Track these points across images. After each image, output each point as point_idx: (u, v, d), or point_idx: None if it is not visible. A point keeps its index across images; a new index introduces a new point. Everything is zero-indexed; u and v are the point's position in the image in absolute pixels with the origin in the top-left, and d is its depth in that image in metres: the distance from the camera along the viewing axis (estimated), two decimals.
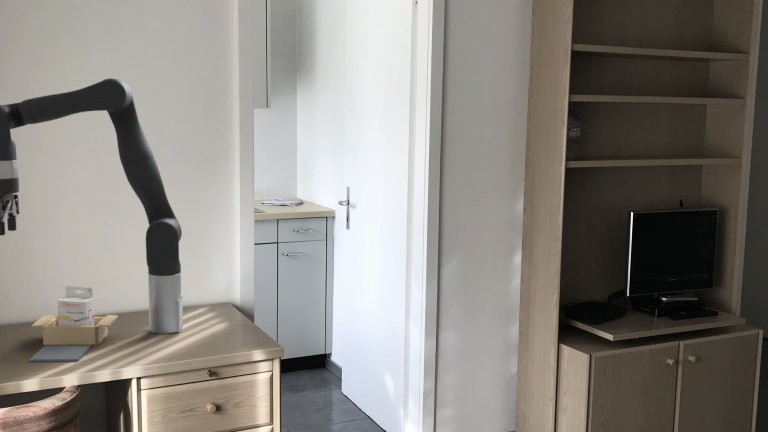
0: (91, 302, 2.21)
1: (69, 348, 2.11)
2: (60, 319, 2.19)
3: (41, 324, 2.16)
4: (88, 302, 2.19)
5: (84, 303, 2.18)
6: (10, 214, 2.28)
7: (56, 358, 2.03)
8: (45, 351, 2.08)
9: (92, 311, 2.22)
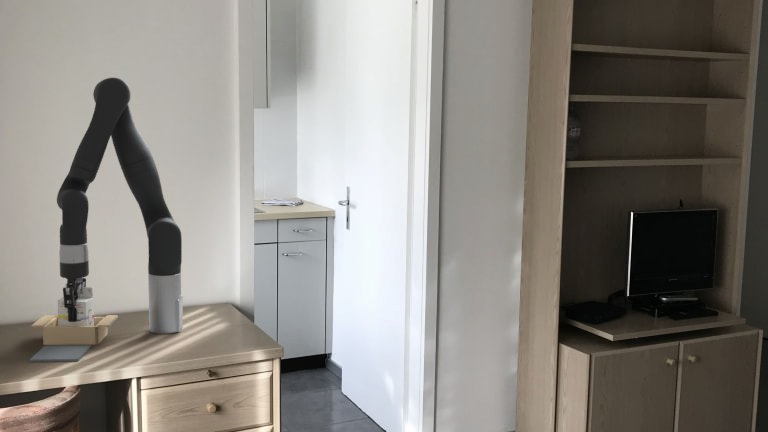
0: (91, 302, 2.21)
1: (69, 348, 2.11)
2: (60, 318, 2.19)
3: (41, 324, 2.16)
4: (88, 302, 2.19)
5: (84, 303, 2.18)
6: None
7: (56, 358, 2.03)
8: (45, 351, 2.08)
9: (92, 311, 2.22)
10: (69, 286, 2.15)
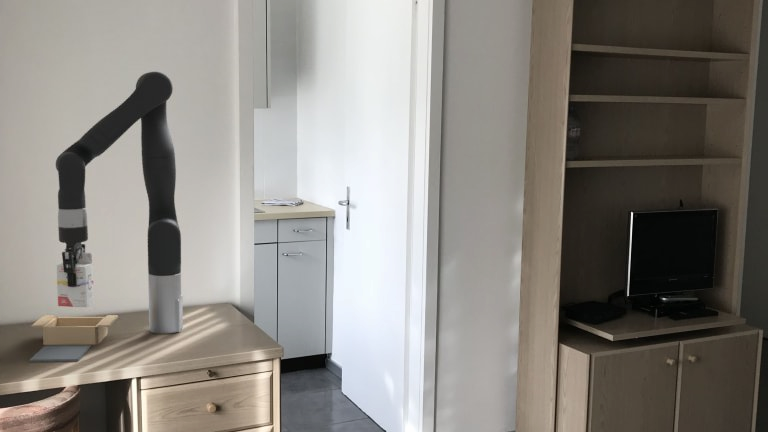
0: (90, 267, 2.20)
1: (69, 348, 2.11)
2: (60, 284, 2.18)
3: (41, 324, 2.16)
4: (87, 267, 2.18)
5: (83, 268, 2.17)
6: None
7: (56, 358, 2.03)
8: (45, 351, 2.08)
9: (91, 276, 2.21)
10: (68, 250, 2.14)
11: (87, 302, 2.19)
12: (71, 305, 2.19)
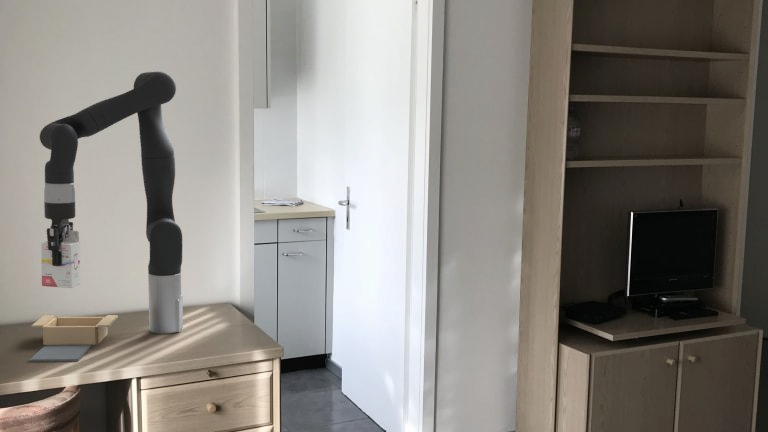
0: (77, 246, 2.08)
1: (69, 348, 2.11)
2: (44, 263, 2.07)
3: (41, 324, 2.16)
4: (74, 246, 2.07)
5: (69, 246, 2.05)
6: None
7: (56, 358, 2.03)
8: (45, 351, 2.08)
9: (78, 256, 2.09)
10: (53, 227, 2.02)
11: (72, 283, 2.07)
12: (56, 285, 2.07)
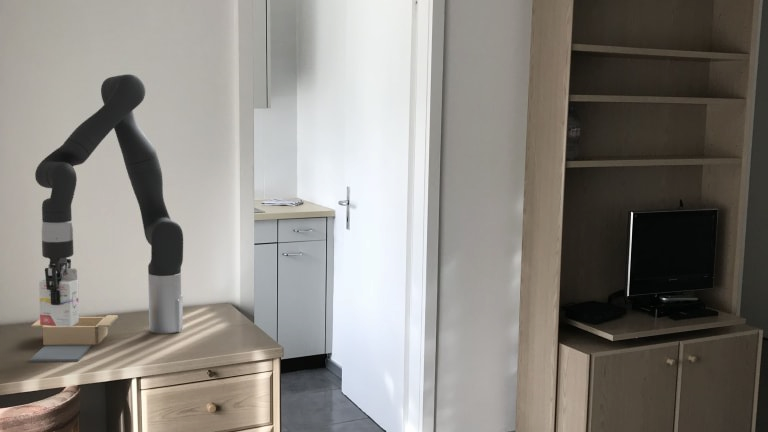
0: (75, 284, 2.06)
1: (69, 348, 2.11)
2: (42, 302, 2.05)
3: None
4: (72, 284, 2.05)
5: (68, 285, 2.03)
6: None
7: (56, 358, 2.03)
8: (45, 351, 2.08)
9: (76, 294, 2.07)
10: (52, 266, 2.00)
11: (71, 321, 2.05)
12: (54, 324, 2.05)
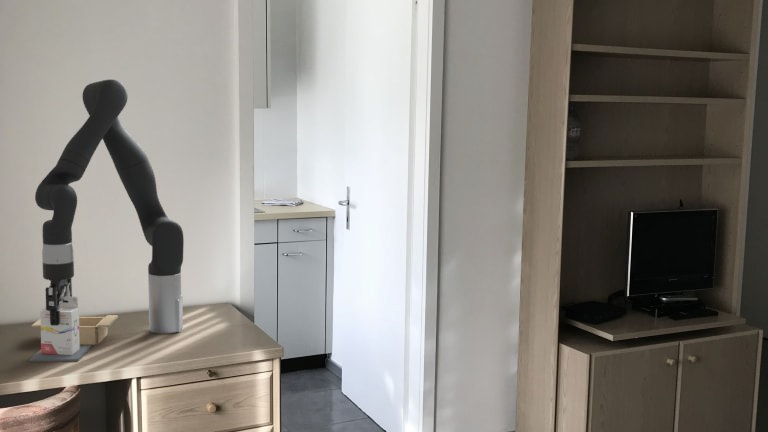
0: (76, 312, 2.08)
1: None
2: (44, 330, 2.05)
3: None
4: (74, 312, 2.06)
5: (69, 313, 2.04)
6: (63, 299, 2.11)
7: (56, 358, 2.03)
8: None
9: (77, 322, 2.08)
10: (52, 287, 2.01)
11: (73, 350, 2.06)
12: (56, 352, 2.06)
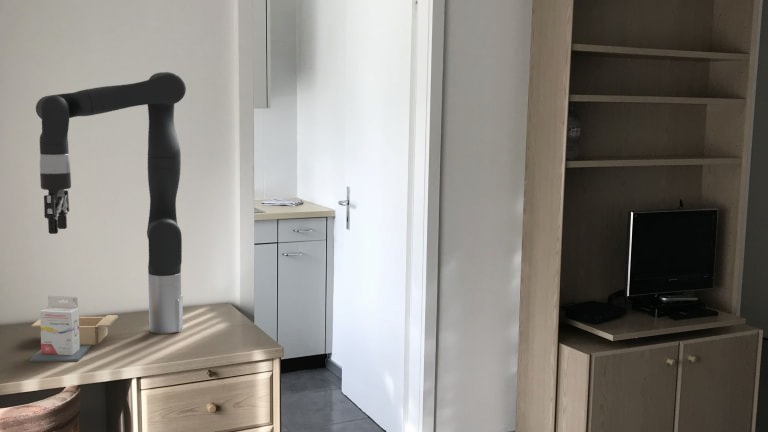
0: (76, 312, 2.07)
1: None
2: (44, 331, 2.05)
3: None
4: (73, 312, 2.06)
5: (69, 314, 2.04)
6: (60, 211, 2.16)
7: (56, 358, 2.03)
8: None
9: (77, 322, 2.08)
10: None
11: (73, 350, 2.06)
12: (56, 352, 2.06)
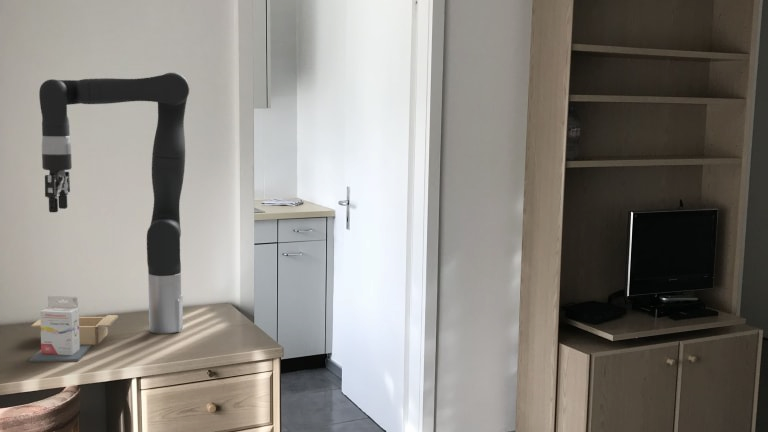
0: (76, 312, 2.07)
1: None
2: (44, 331, 2.05)
3: None
4: (73, 312, 2.06)
5: (69, 314, 2.04)
6: (61, 191, 2.24)
7: (56, 358, 2.03)
8: None
9: (77, 322, 2.08)
10: None
11: (73, 350, 2.06)
12: (56, 352, 2.06)
